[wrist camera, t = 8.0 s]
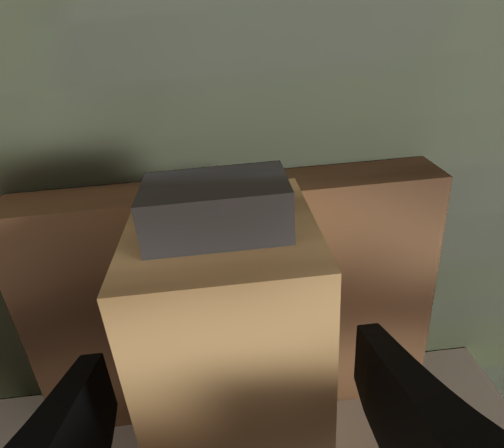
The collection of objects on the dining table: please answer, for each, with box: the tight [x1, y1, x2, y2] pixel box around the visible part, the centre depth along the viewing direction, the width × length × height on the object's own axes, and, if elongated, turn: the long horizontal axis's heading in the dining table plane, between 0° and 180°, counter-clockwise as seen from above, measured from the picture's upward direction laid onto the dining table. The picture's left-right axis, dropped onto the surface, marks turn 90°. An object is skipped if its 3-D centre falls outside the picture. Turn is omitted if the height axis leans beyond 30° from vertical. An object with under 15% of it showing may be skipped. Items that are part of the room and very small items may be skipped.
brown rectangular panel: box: [0, 156, 453, 427], centre depth 15 cm, size 9×14×2 cm, turn 94°
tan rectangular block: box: [97, 160, 341, 448], centre depth 12 cm, size 10×4×5 cm, turn 4°
